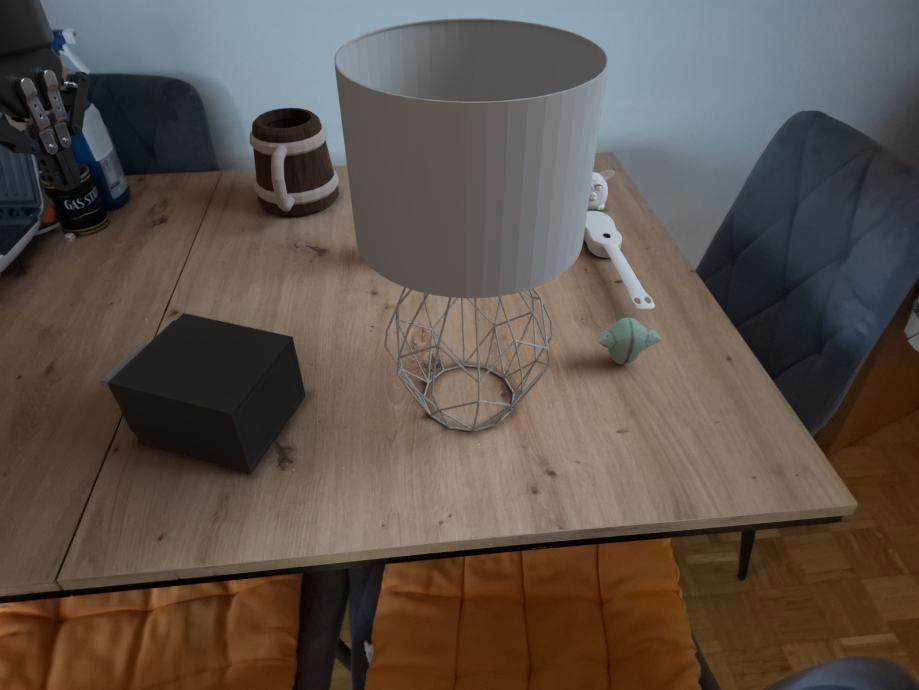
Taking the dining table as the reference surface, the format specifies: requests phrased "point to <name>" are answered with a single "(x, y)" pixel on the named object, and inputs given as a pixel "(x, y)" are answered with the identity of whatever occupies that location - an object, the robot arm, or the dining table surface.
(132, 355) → the drawer
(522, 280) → the table lamp
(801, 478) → the dining table surface
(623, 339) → the green spinning top
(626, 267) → the white toy ukulele
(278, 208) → the mug
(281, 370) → the cabinet
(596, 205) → the figurine
